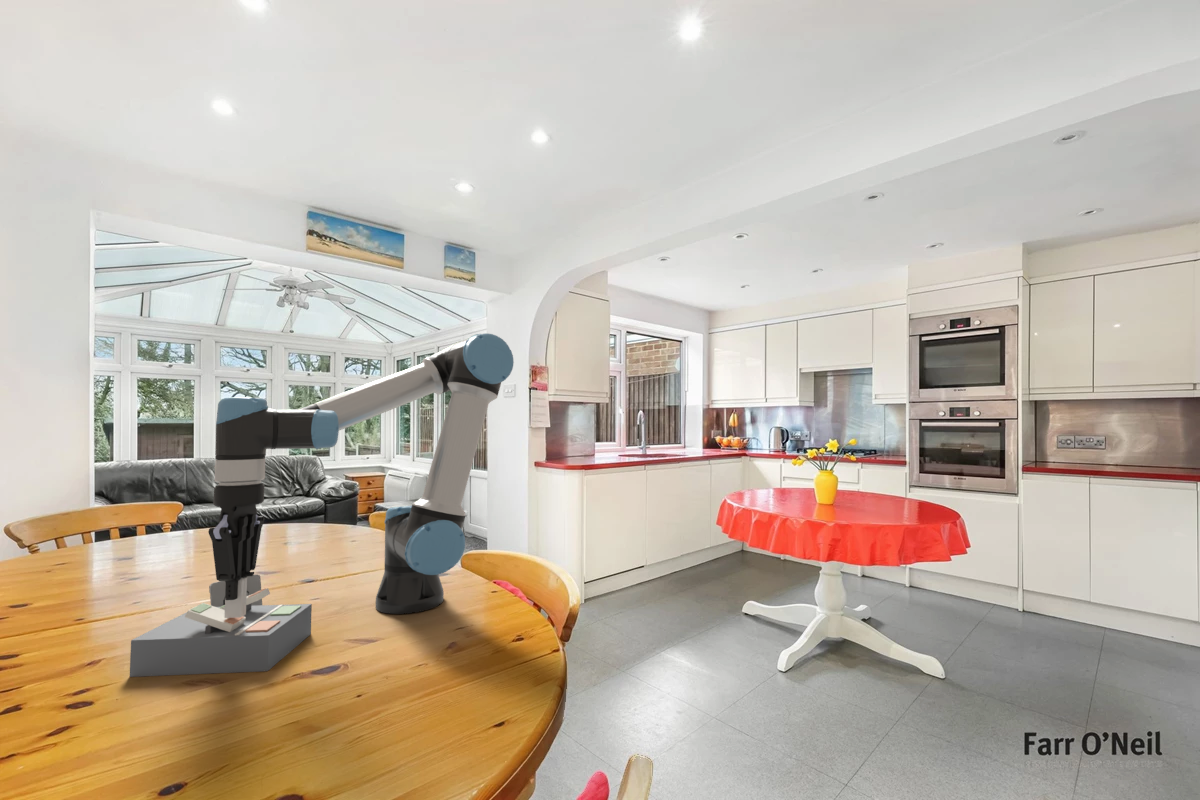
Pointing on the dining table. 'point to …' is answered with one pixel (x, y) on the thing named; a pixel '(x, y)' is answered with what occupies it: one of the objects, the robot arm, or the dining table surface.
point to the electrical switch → (219, 591)
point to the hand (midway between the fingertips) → (235, 616)
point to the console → (221, 643)
